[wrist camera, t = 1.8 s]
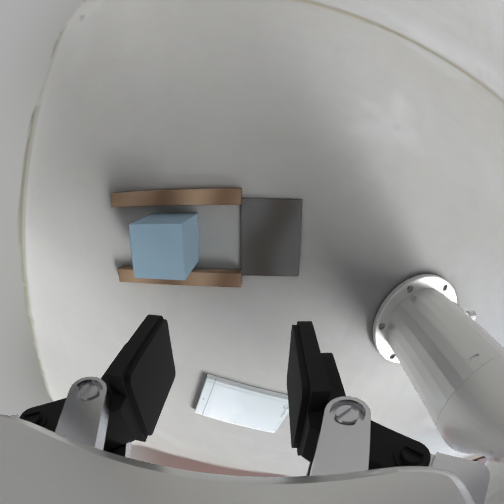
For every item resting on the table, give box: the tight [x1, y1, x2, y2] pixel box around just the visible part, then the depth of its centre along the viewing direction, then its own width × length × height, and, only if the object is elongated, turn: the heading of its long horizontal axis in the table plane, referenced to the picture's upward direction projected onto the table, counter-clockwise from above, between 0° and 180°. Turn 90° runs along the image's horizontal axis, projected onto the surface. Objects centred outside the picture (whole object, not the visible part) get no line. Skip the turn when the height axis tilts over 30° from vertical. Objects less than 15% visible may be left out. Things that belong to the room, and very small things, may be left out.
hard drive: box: [195, 374, 289, 433], centre depth 36 cm, size 2×8×12 cm
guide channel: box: [111, 188, 302, 287], centre depth 29 cm, size 20×10×1 cm, turn 90°
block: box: [129, 213, 200, 280], centre depth 27 cm, size 5×5×6 cm
